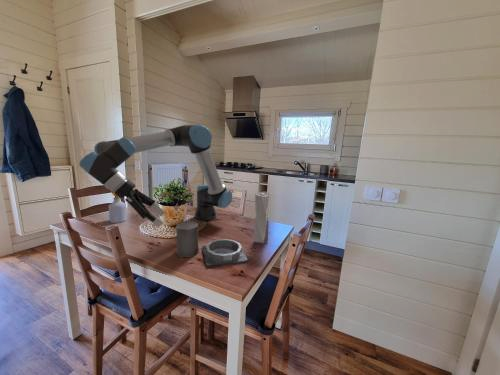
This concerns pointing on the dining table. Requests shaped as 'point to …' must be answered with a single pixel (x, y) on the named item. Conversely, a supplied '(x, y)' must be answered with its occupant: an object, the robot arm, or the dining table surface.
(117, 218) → the soap bottle
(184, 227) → the pillar candle
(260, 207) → the skyscraper
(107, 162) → the robot arm
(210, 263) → the duct collar
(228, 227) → the dining table surface
